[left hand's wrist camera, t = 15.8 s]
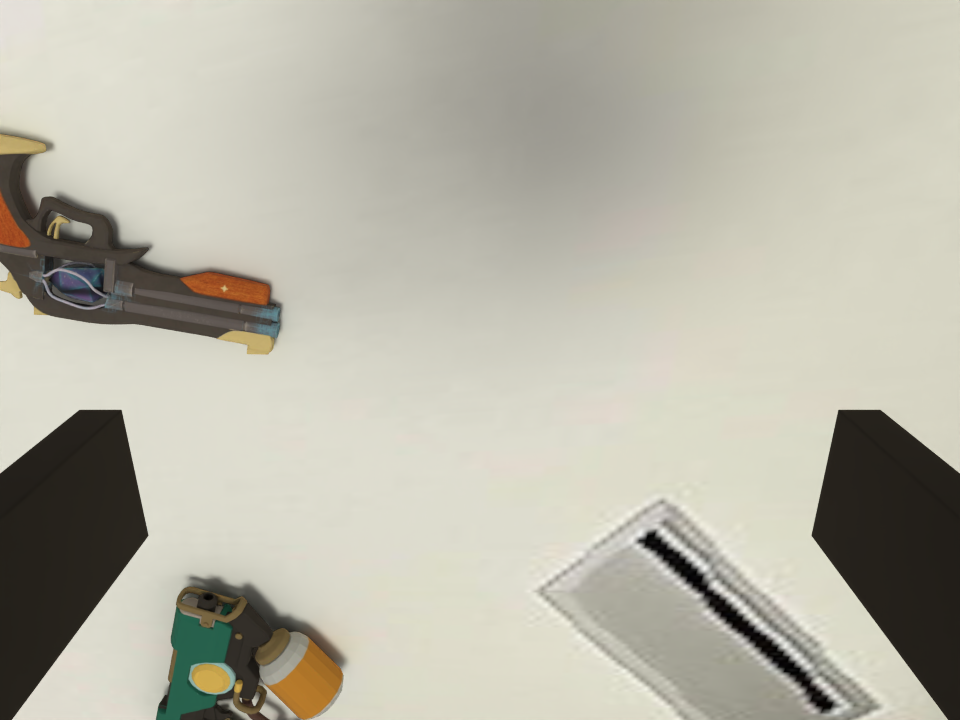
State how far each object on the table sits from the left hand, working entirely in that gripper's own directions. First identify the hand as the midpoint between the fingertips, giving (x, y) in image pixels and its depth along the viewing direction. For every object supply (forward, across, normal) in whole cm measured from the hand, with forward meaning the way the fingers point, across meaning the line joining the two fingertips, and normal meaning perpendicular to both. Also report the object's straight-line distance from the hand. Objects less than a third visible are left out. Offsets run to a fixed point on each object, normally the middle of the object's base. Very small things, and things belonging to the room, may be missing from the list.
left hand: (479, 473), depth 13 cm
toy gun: (+29, -21, -2) cm, 36 cm away
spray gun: (+29, -18, -36) cm, 50 cm away
